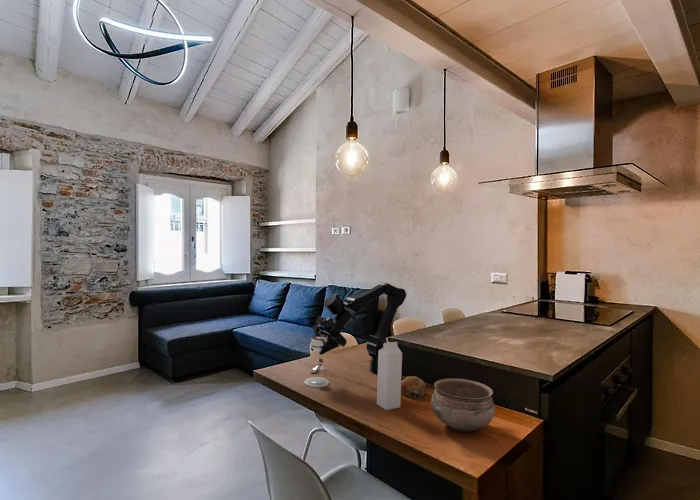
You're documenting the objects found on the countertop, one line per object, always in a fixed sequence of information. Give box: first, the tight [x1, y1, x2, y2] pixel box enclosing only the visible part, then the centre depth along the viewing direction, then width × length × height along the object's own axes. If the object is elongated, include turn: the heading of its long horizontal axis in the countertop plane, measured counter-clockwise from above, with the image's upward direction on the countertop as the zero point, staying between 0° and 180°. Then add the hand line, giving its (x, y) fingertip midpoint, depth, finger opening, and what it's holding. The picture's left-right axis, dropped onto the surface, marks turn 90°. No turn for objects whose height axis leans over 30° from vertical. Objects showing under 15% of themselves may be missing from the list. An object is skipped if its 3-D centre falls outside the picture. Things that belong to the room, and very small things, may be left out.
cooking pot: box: [430, 378, 496, 433], centre depth 120 cm, size 25×19×12 cm
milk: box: [376, 341, 403, 411], centre depth 135 cm, size 6×6×22 cm
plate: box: [304, 376, 330, 388], centre depth 155 cm, size 10×10×1 cm
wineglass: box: [310, 335, 327, 371], centre depth 155 cm, size 7×7×12 cm
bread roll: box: [401, 375, 427, 399], centre depth 148 cm, size 10×10×8 cm
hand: (315, 352), depth 154 cm, fingers closed on wineglass, 6 cm apart
